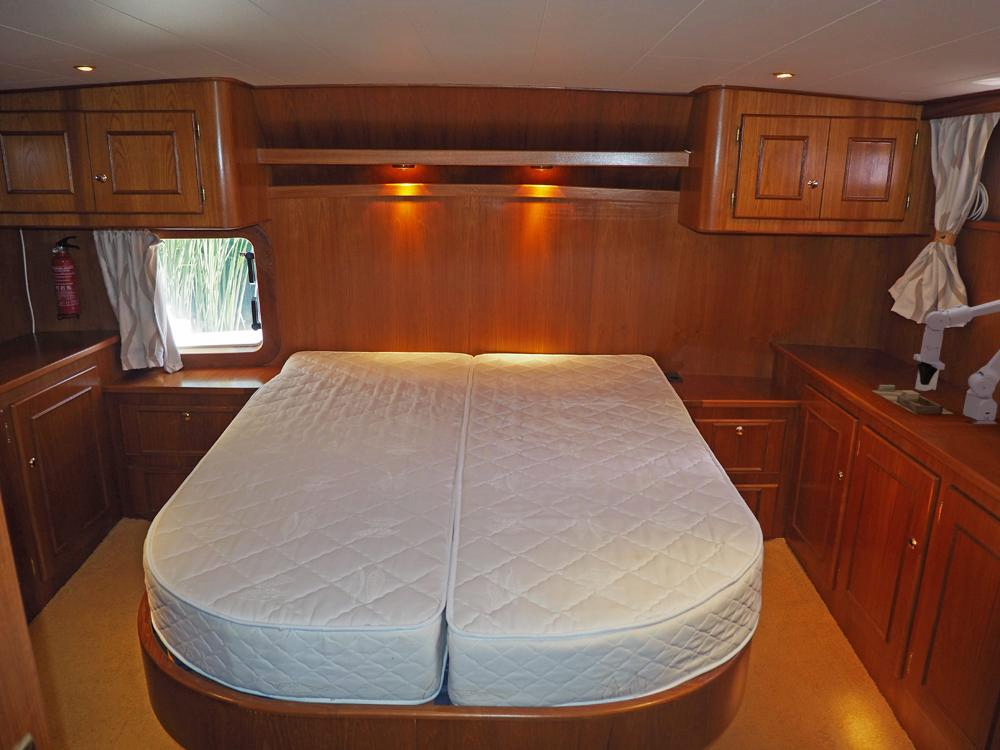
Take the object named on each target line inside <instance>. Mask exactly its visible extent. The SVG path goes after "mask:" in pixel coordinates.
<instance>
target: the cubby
mask: <svg viewBox="0 0 1000 750" xmlns="http://www.w3.org/2000/svg"><path fill="white" fill-rule="evenodd" d="M897 403H899V404H901V405H903V406H905V407H906V408H908V409H910V410H912V411H914V412H916V413H918V415H920V414H921V415H930V414H931V415H933V414H934V415H936V414H937V415H943V414H942V411H943V409H944V406H942V405H940V404H938V403H936V402H934V401H933V400H930V399H928V398H926V397H924V396H922V395H919V399H918V403H919V404H921V405H923V406H920V405H918V404H916V403H914V402H912V401H910V400H908V399H906V398H904V397H902V396H897Z"/></svg>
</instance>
